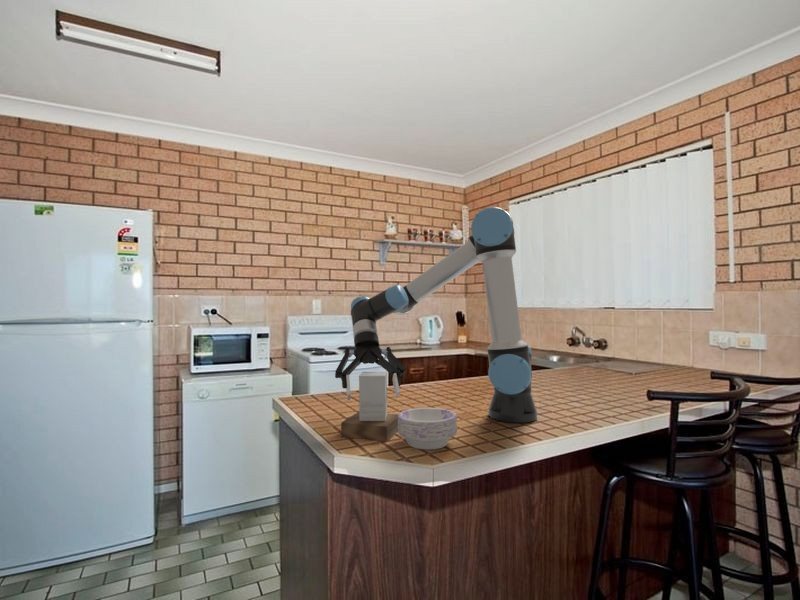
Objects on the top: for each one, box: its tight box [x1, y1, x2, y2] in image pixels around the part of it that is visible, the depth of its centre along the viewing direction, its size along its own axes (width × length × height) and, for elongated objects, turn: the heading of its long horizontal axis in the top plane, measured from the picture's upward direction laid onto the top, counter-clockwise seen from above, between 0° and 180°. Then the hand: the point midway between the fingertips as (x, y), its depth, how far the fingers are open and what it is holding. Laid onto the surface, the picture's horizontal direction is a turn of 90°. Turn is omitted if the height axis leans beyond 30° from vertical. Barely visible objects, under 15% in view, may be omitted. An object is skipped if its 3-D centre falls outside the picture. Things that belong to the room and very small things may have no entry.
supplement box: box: [358, 371, 388, 421], centre depth 120 cm, size 7×7×13 cm
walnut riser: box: [340, 411, 399, 443], centre depth 120 cm, size 13×13×4 cm
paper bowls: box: [397, 407, 458, 451], centre depth 110 cm, size 15×15×8 cm
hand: (373, 396), depth 117 cm, fingers open, 13 cm apart
